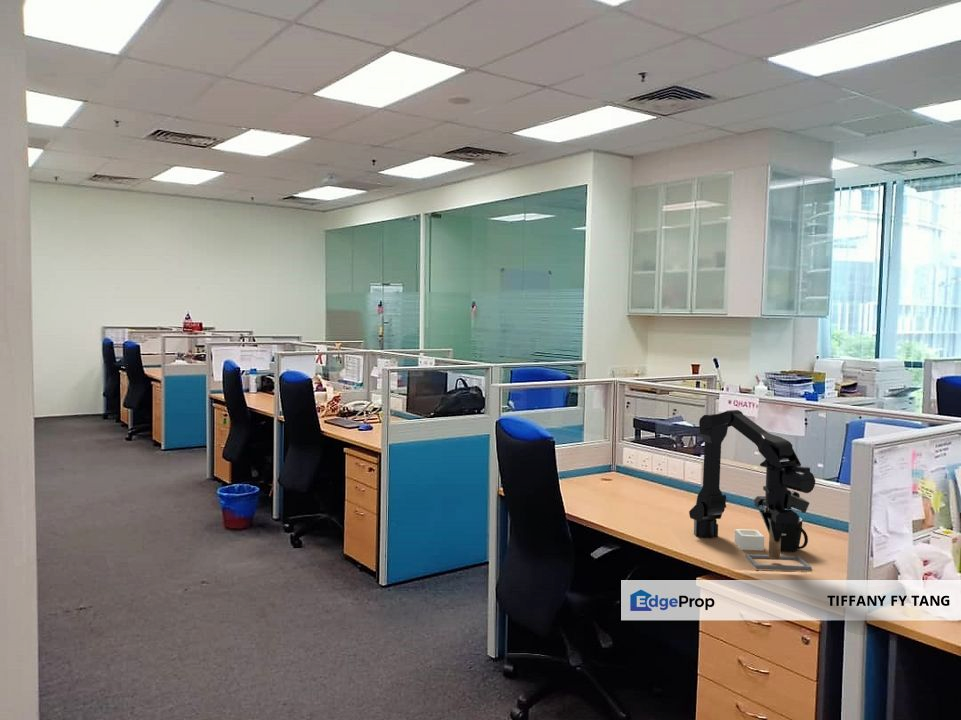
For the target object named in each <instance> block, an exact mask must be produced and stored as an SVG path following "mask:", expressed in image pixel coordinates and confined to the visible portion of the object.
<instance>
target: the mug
mask: <svg viewBox="0 0 961 720" xmlns="http://www.w3.org/2000/svg"><path fill="white" fill-rule="evenodd" d="M802 535H803V539H804V542H803V544H802V545H800V543H801V538H802ZM808 537H809V536H808V533H807V532H806V531H805V529H804V528H803V518H801V517H800V520H799V524H786V525H785V528H784V530H783V532H782V535H781V548H780V552H784V553H796V552H797V551H798V550H802V549H804V548H806V547H807V545H808V542H809V538H808Z"/></svg>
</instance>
